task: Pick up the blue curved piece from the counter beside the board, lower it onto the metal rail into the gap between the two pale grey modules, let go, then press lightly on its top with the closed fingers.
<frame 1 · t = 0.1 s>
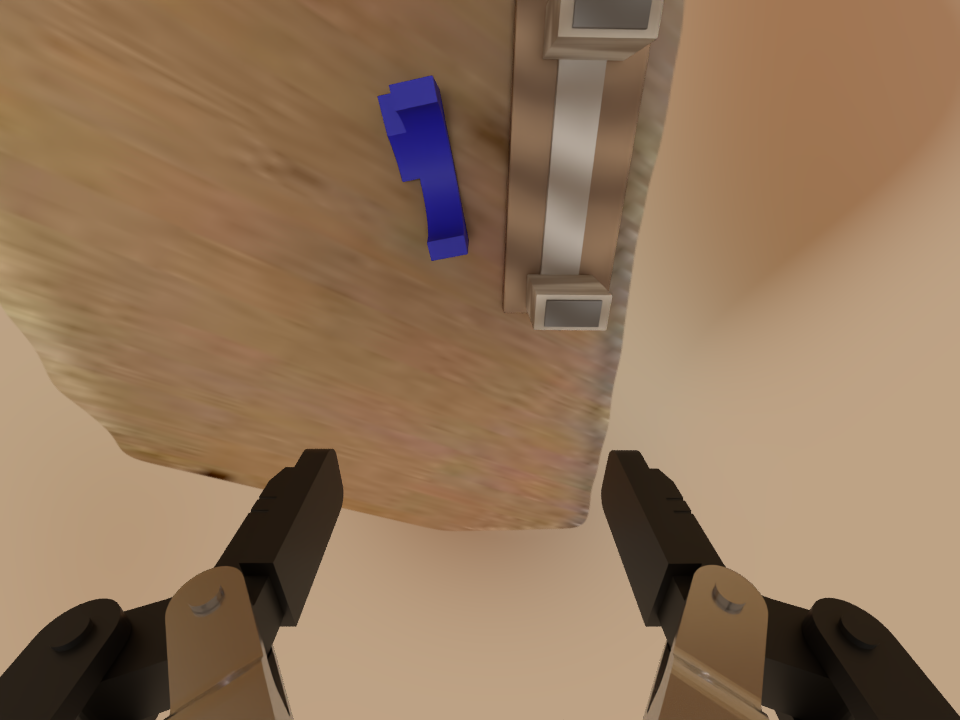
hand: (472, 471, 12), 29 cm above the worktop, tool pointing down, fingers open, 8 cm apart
rail board: (565, 178, 34), on the worktop
blue curved piece: (430, 175, 34), on the worktop
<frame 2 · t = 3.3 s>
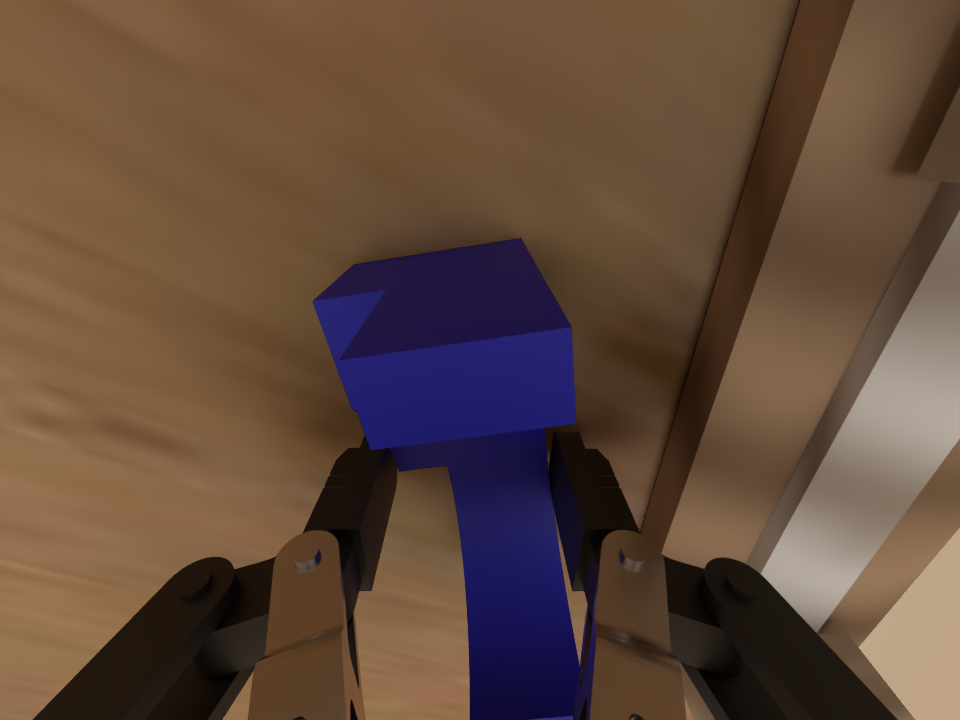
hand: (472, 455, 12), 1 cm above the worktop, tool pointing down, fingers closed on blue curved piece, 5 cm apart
rail board: (814, 435, 13), on the worktop
blue curved piece: (472, 427, 13), on the worktop, touching gripper
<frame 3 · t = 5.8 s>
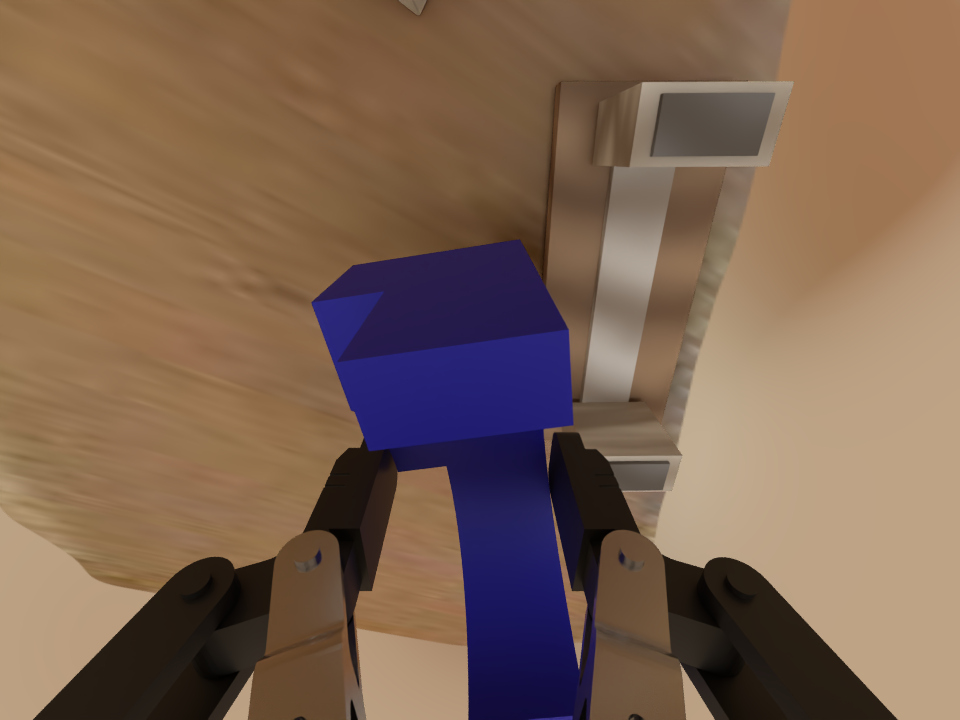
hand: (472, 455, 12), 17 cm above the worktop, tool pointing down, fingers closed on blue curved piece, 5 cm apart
rail board: (612, 290, 28), on the worktop
blue curved piece: (471, 428, 13), point 16 cm above the worktop, touching gripper
when the fingers open (4 cm above the worktop, at t = 8.5 s): blue curved piece stays where it is, resting on rail board.
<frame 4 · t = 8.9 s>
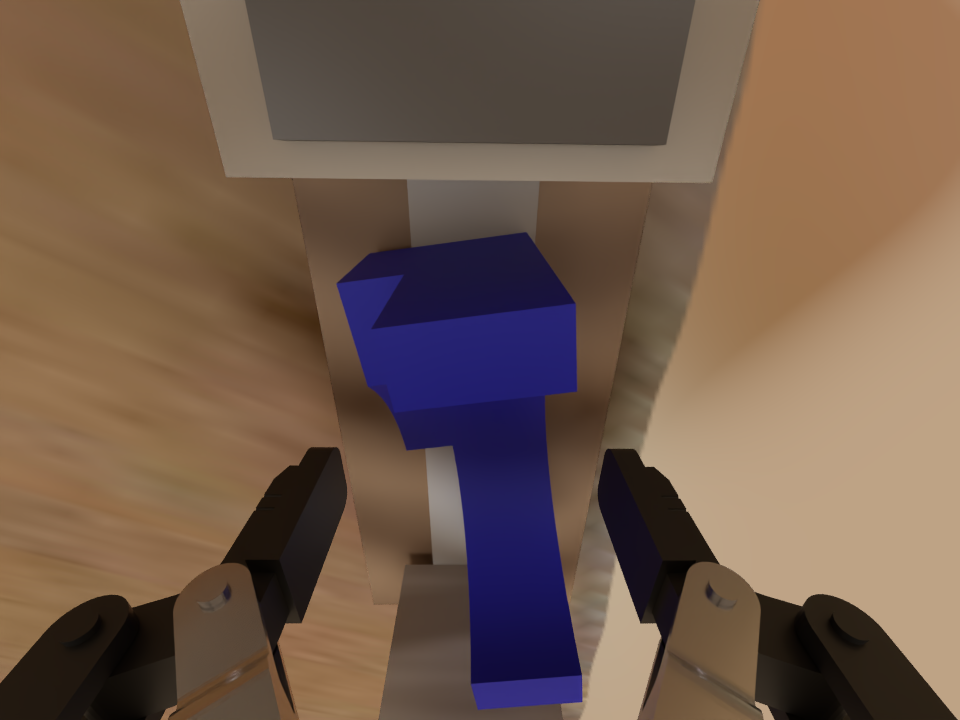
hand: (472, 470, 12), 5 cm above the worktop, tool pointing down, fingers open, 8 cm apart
rail board: (472, 388, 16), on the worktop
blue curved piece: (475, 412, 14), point 2 cm above the worktop, touching rail board
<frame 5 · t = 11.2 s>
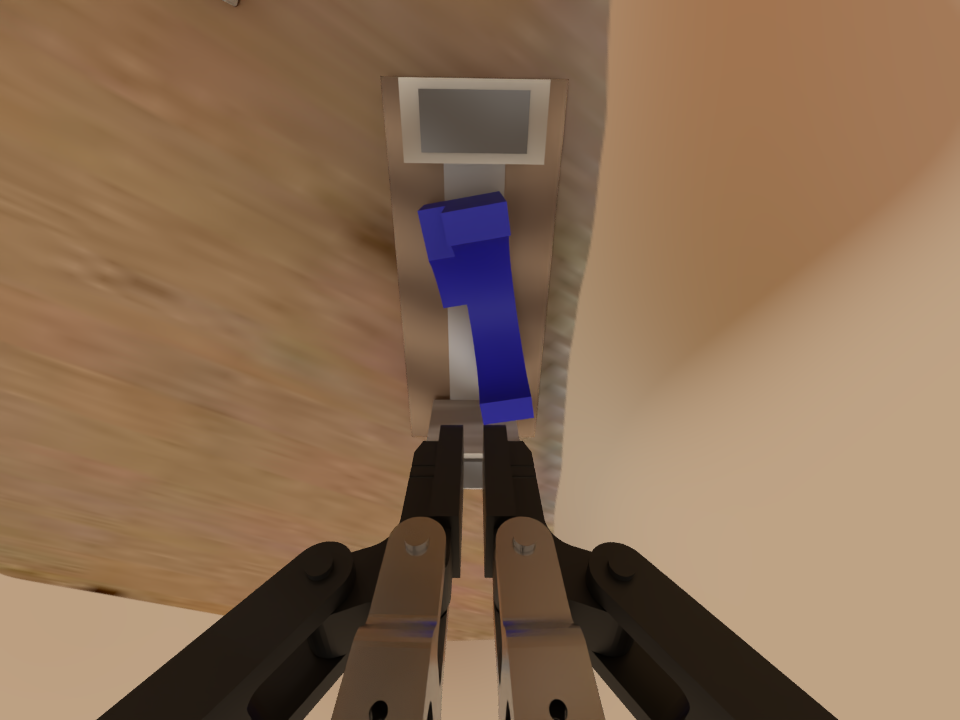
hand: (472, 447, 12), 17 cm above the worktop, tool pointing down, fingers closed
rail board: (474, 288, 28), on the worktop
blue curved piece: (478, 294, 26), point 2 cm above the worktop, touching rail board
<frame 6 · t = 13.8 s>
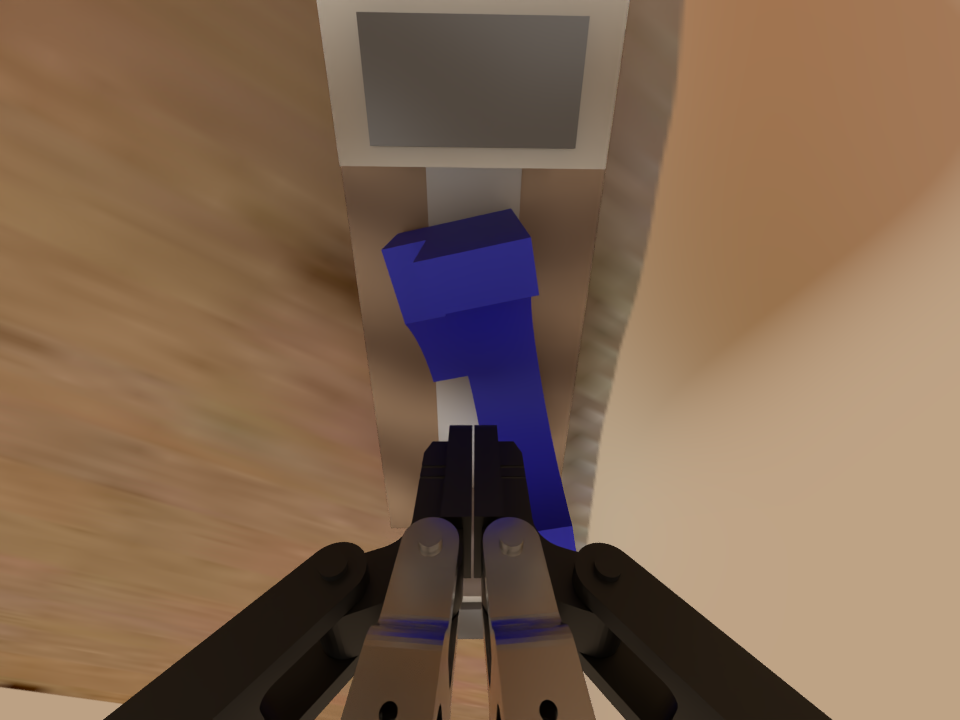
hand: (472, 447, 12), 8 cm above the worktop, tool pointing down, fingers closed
rail board: (473, 340, 20), on the worktop
blue curved piece: (484, 354, 18), point 2 cm above the worktop, touching rail board
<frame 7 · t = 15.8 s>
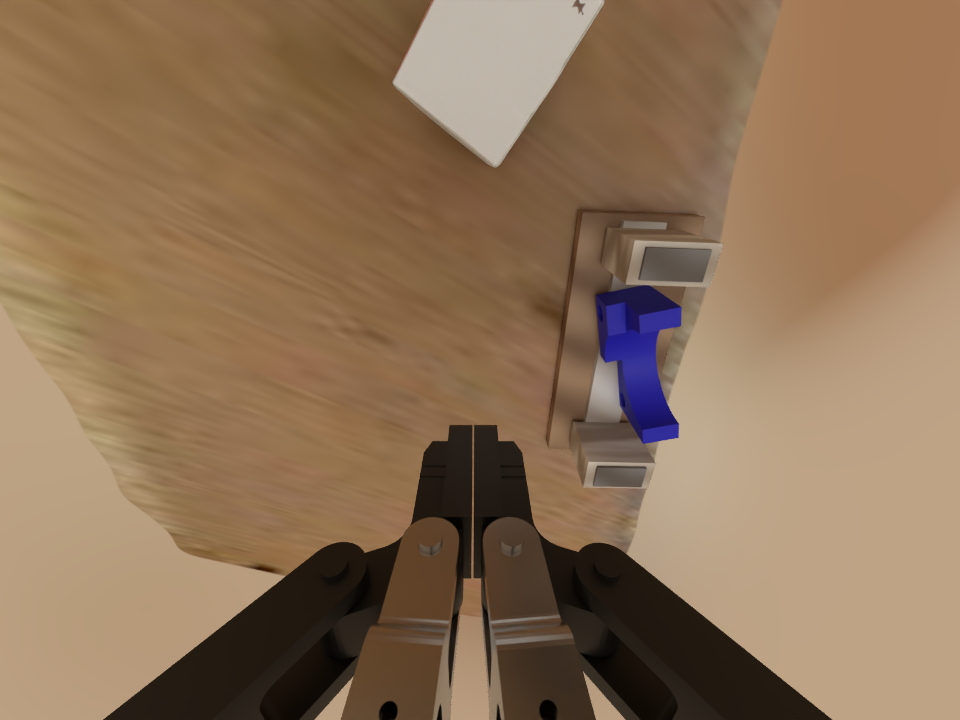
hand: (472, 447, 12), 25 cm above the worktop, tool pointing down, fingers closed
small box: (487, 91, 29), on the worktop
rail board: (610, 342, 38), on the worktop
blue curved piece: (623, 350, 36), point 2 cm above the worktop, touching rail board
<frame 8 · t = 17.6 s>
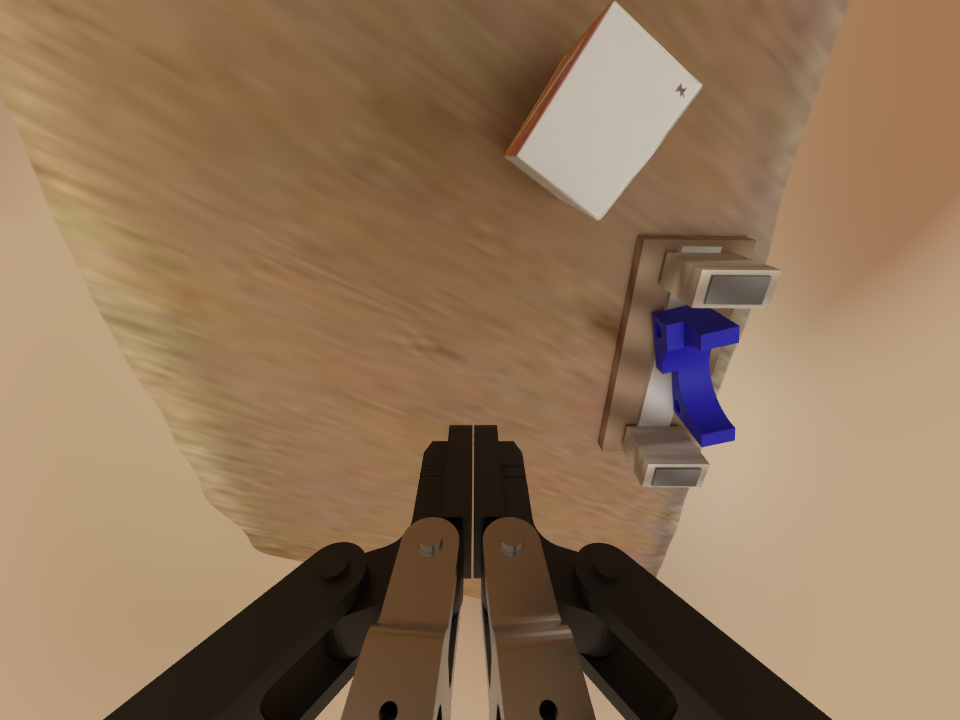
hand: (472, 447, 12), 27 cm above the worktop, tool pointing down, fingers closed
small box: (559, 134, 32), on the worktop
rail board: (662, 353, 41), on the worktop
blue curved piece: (677, 360, 40), point 2 cm above the worktop, touching rail board
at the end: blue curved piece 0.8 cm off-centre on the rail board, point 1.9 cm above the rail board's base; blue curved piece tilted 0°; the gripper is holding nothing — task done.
